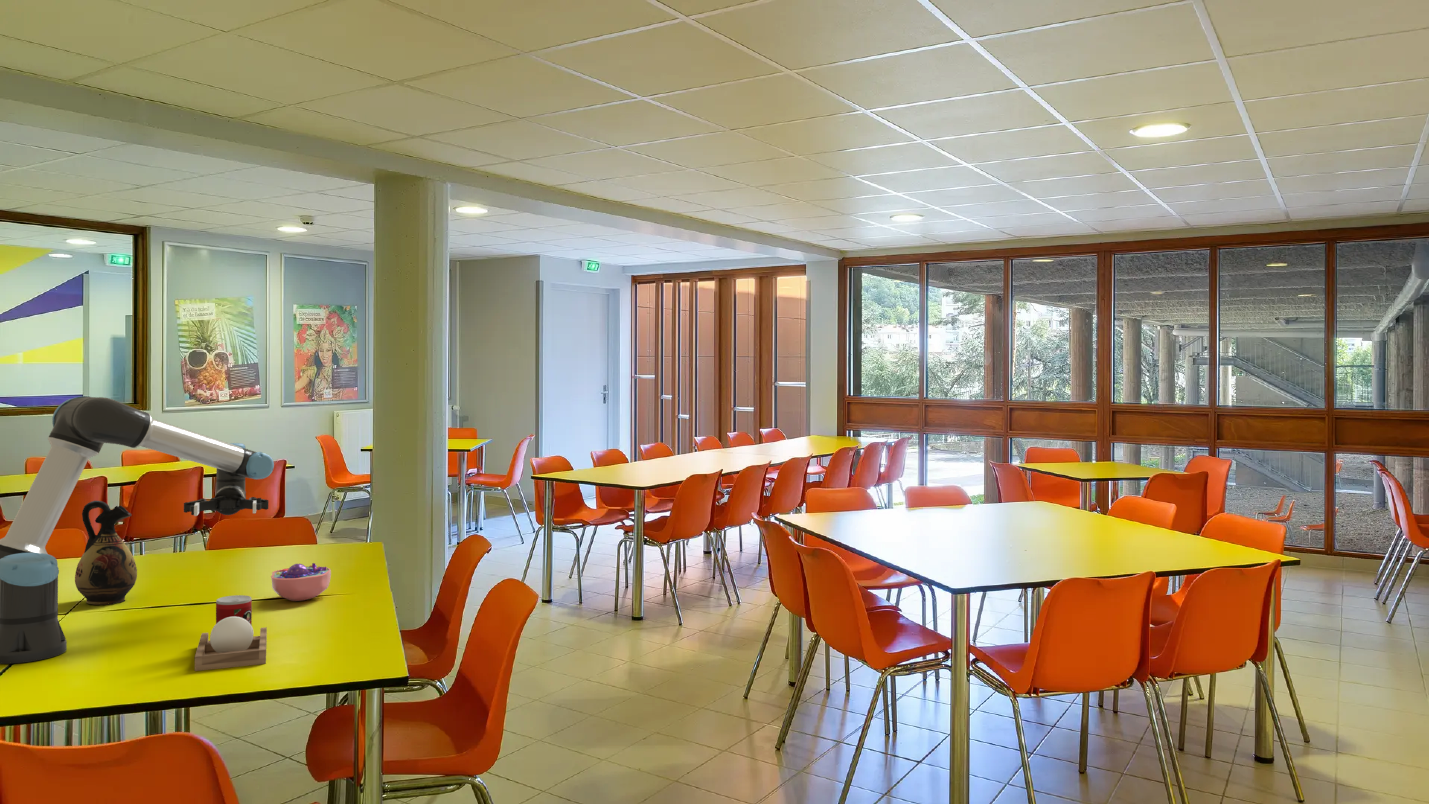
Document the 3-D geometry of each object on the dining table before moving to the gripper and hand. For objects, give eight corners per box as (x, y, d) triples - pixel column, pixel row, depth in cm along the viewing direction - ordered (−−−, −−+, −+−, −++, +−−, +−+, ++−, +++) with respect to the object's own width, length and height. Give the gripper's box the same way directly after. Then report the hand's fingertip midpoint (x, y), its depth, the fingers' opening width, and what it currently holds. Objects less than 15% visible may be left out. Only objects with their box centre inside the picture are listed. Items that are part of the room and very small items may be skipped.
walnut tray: (265, 663, 213) (265, 649, 213) (194, 671, 207) (194, 656, 207) (266, 639, 233) (266, 627, 233) (201, 646, 227) (201, 633, 227)
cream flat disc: (253, 653, 217) (253, 615, 217) (209, 658, 213) (210, 619, 213) (253, 652, 218) (253, 614, 218) (210, 656, 214) (210, 618, 214)
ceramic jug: (142, 594, 282) (142, 497, 282) (130, 605, 268) (131, 503, 268) (76, 598, 276) (77, 498, 276) (61, 610, 262) (61, 505, 261)
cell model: (341, 591, 289) (341, 556, 289) (316, 606, 269) (316, 568, 269) (287, 591, 289) (287, 555, 289) (257, 606, 269) (257, 567, 269)
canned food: (237, 648, 221) (237, 603, 221) (208, 646, 223) (208, 601, 222) (258, 640, 229) (259, 596, 228) (230, 638, 230) (230, 594, 230)
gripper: (277, 511, 266) (277, 521, 247) (178, 515, 255) (170, 526, 236) (278, 485, 266) (278, 493, 247) (178, 488, 255) (170, 497, 236)
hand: (225, 509), depth 241 cm, fingers open, 13 cm apart
